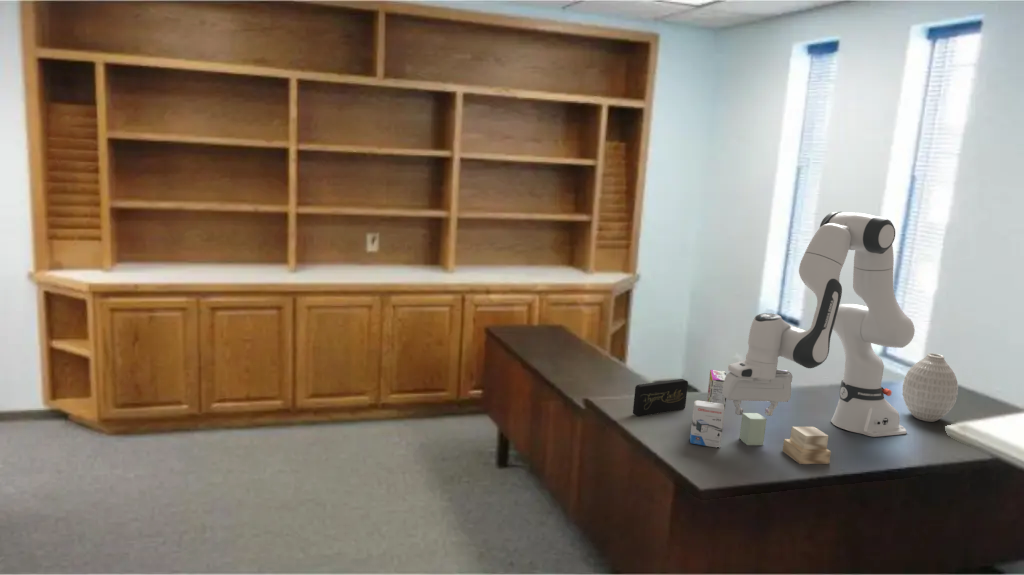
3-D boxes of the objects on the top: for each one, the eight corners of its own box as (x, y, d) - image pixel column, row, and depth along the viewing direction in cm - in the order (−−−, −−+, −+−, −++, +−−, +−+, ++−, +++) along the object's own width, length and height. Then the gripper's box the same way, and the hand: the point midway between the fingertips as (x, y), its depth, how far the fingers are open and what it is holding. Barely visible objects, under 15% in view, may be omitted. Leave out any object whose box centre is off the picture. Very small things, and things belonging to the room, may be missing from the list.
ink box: (689, 444, 213) (694, 405, 211) (689, 437, 218) (694, 399, 215) (720, 448, 211) (725, 409, 209) (719, 442, 216) (724, 403, 214)
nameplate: (636, 417, 232) (639, 386, 231) (632, 415, 234) (635, 384, 232) (685, 409, 243) (688, 380, 242) (681, 407, 245) (684, 378, 243)
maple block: (811, 439, 213) (813, 426, 212) (826, 449, 206) (828, 435, 205) (789, 439, 211) (791, 426, 211) (803, 449, 205) (805, 435, 204)
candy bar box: (703, 418, 235) (709, 369, 232) (720, 420, 234) (726, 371, 231) (705, 430, 224) (712, 378, 222) (722, 433, 224) (729, 381, 221)
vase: (907, 406, 263) (917, 346, 259) (958, 420, 252) (969, 357, 248) (891, 415, 252) (901, 352, 248) (943, 430, 240) (955, 364, 237)
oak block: (810, 452, 214) (812, 439, 213) (828, 465, 205) (830, 451, 205) (782, 452, 213) (784, 439, 212) (799, 465, 204) (801, 451, 203)
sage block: (754, 438, 221) (758, 413, 219) (763, 445, 216) (766, 419, 215) (739, 438, 220) (742, 413, 218) (747, 445, 215) (750, 419, 214)
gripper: (787, 367, 219) (780, 411, 221) (723, 364, 215) (716, 410, 217) (799, 373, 213) (791, 419, 215) (733, 371, 209) (726, 417, 211)
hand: (753, 414), depth 216 cm, fingers open, 8 cm apart
